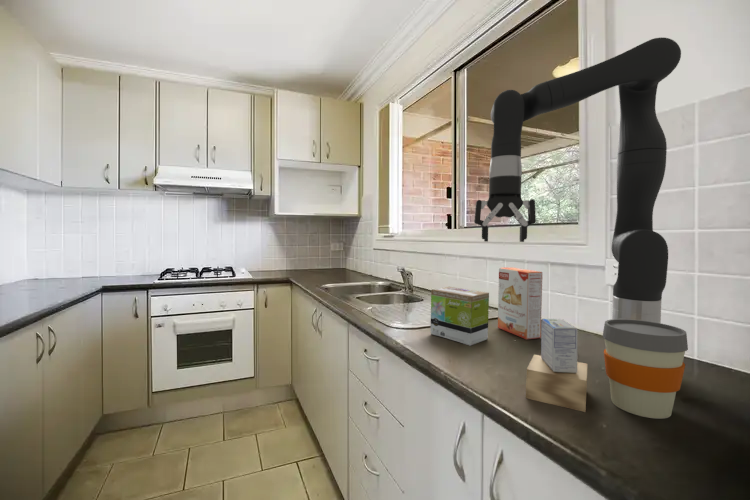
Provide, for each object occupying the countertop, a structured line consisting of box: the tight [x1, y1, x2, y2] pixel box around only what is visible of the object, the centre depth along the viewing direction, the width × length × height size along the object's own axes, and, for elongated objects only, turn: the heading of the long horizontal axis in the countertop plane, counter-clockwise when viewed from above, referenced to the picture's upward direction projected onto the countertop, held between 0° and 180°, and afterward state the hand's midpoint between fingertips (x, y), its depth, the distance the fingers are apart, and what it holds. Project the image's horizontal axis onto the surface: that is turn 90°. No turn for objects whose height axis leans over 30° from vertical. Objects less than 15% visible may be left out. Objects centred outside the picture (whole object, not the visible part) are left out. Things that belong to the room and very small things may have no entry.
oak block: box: [525, 354, 588, 413], centre depth 70 cm, size 10×10×6 cm
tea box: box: [430, 286, 490, 347], centre depth 109 cm, size 15×10×15 cm
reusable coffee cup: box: [602, 318, 689, 419], centre depth 66 cm, size 13×13×15 cm
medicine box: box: [540, 318, 579, 373], centre depth 70 cm, size 8×4×9 cm, turn 170°
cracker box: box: [497, 267, 543, 340], centre depth 114 cm, size 14×6×21 cm, turn 17°
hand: (503, 241), depth 89 cm, fingers open, 8 cm apart
